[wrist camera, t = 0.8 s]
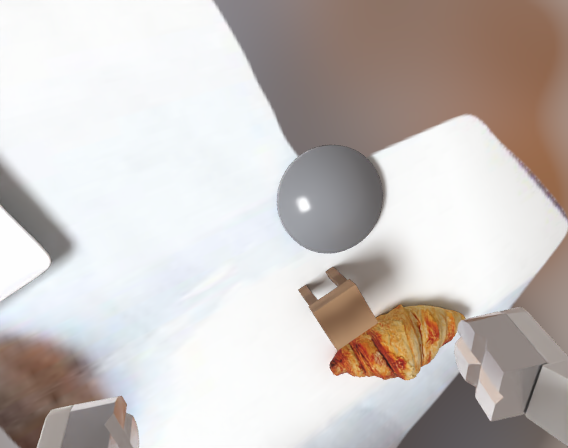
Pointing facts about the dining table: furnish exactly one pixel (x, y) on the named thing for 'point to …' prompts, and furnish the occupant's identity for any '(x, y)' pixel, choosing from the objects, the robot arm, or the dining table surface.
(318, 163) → the grey flat disc
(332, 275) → the stool
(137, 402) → the dining table surface
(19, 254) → the salad plate
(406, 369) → the croissant
